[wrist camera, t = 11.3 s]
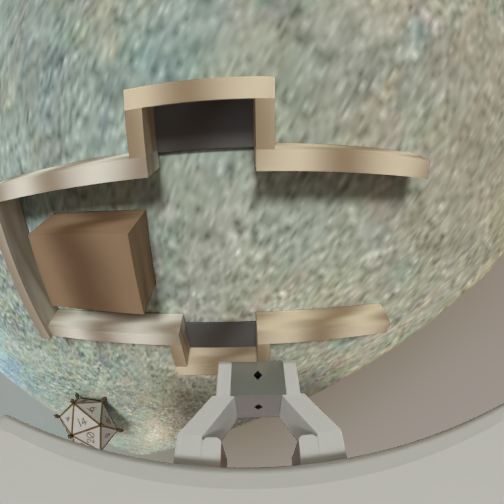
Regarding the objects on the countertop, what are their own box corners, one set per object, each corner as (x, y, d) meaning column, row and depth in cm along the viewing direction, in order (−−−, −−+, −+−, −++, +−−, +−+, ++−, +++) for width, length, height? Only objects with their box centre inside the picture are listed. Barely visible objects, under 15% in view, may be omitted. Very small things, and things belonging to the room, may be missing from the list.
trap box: (414, 98, 15) (439, 100, 12) (366, 343, 26) (376, 365, 23) (-1, 133, 14) (-26, 141, 12) (68, 345, 25) (59, 365, 23)
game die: (92, 372, 33) (49, 390, 23) (139, 408, 33) (106, 438, 23) (76, 413, 32) (38, 435, 23) (119, 447, 32) (88, 478, 22)
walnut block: (146, 208, 19) (127, 234, 15) (156, 280, 22) (143, 314, 18) (55, 211, 18) (27, 235, 15) (72, 276, 21) (52, 305, 18)
